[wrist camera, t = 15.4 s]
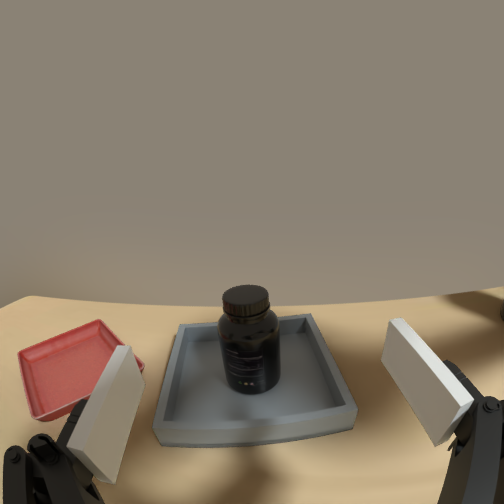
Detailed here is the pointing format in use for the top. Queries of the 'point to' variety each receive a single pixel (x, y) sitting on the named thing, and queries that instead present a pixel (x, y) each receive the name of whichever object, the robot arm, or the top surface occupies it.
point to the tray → (251, 406)
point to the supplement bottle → (249, 340)
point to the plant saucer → (66, 368)
